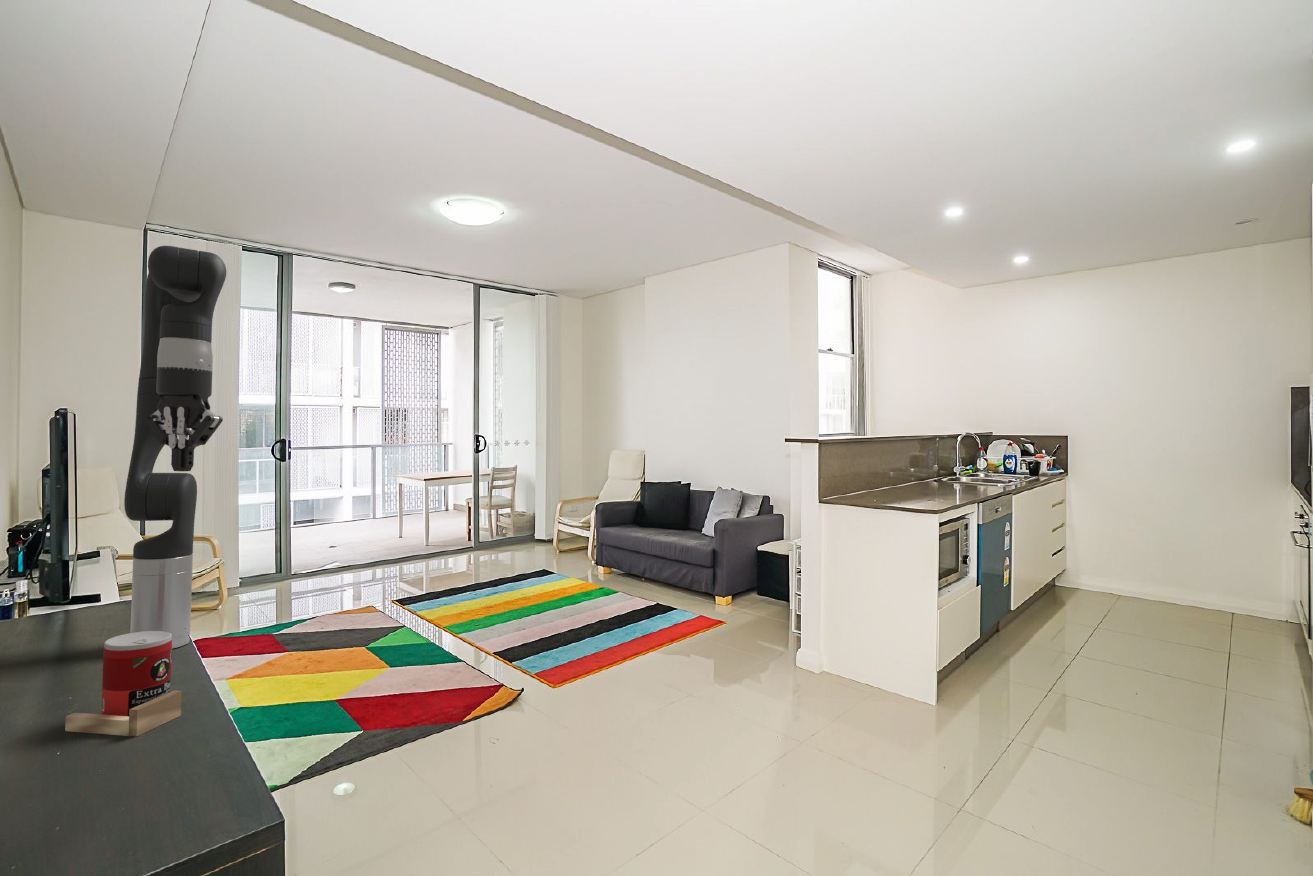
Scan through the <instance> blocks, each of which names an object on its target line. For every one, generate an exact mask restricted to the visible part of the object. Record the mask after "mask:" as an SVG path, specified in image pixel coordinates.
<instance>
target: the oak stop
mask: <svg viewBox="0 0 1313 876" xmlns="http://www.w3.org/2000/svg"><path fill="white" fill-rule="evenodd" d="M182 695H183V690H178V689H177V690H176V689H175V690H171V691H170V692H169V693H167V694H165V695H162V696H160V697H158V698H155V699H153V700H150V701H148V702H146V703H143V704H141V705H139V706H136V707H134V708H132V709H129V717H128V716H115V715H101V713H100V714H99V713H88V712H87V713H84V712H72V713H71V714H70V713H69V714H67V715H66V716H65V725H64V729H65V730H64V731H65V732H71V733H72V732H73V733H74V732H75V733H86V734H99V735H101V734H102V735H112V736H124V737H125V736H126V737H135V738H136V737H139V736H141V735H143V734H145V733H147V732H149V731H151V730H154V729H155V728H158V727H160V726H162V725H163V724H166V723H168V722H170V721H172V720H175V719H176V718H178V717H181V716H182V700H183V698H182V697H183V696H182Z"/></svg>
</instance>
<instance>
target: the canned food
mask: <svg viewBox="0 0 1313 876" xmlns="http://www.w3.org/2000/svg"><path fill="white" fill-rule="evenodd" d="M103 644H104V645H103V653H102V654H103V655H102V682H101V687H102V688H101V713H100V714H101V715H115V716H128V717H129V709H132V708H134V707H136V706H139V705H141V704H143V703H146V702H148V701H150V700H153V699H155V698H158V697H160V696H162V695H165V694H167V693H169V692H171V682H172V681H171V679H172V652H173V648H172V634H171V633H169V632H164V631H145V632H135V633H126V634H121V635H115V636H113V637H111V638H108V639H106V641H104V643H103Z"/></svg>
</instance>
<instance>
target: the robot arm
mask: <svg viewBox="0 0 1313 876" xmlns="http://www.w3.org/2000/svg"><path fill="white" fill-rule="evenodd" d="M147 268H148V269H147V270H148V274H147V277H146V282H145V294H144V295H145V297H144V327H143V328H144V331H143V333H144V335H143V348H142V353H141V354H142V355H141V361H140V368H139V375H138V376H139V377H138V383H137V395H136V409H135V410H136V412H135V426H134V437H133V443H132V444H133V445H132V450H131V455H130V456H131V457H130V462H129V467H128V474H127V479H126V483H125V491H124V498H123V499H124V501H123V502H124V505H123V506H124V512H125V516H126V518H128V519H129V520H131V521H133V522H135V521H136V522H152V521H153V522H154V521H172V523H171V527H170V528H169V529H167V530H166V531H164V532H162V533H160V534H158V535H155V536H152V537H148V538H145V539H142V540H139V541H137V542H135V544H134V545H133V549H132V571H131V572H132V574H131V575H132V582H131V605H130V606H131V607H130V608H131V611H130V630H129V631H130V633H135V632H145V631H164V632H169V633H171V634H172V649H175V648H179V647H182V646H185V645H187V644H189V643H190V642H191V640H190V639H191V620H192V619H191V618H192V592H193V591H192V588H193V587H192V586H193V564H194V563H193V561H194V560H193V558H194V557H193V556H194V554H193V553H194V537H195V536H194V534H195V532H194V531H195V520H196V519H195V518H196V516H195V515H196V509H197V498H198V485H197V484H198V483H197V480H196V477H195V476H194V475H193V474H192V473H189V472H191V471H192V468H194V465H195V463H194V457H195V449H196V448H197V447H200V446H204V445H206V444H207V442H208V441H209V440H210V438H211V437H212V436H213V435H214V433H215V432H216V431H217V429H218V428H219V427H220V425H221V424H222V422H223V417H222V416H221V415H216V414H214V413H213V412H212V410H211V405H210V402H209V398H210V397H211V396H212V395H213V394H212V393H213V363H214V355H213V350H212V349H213V347H212V342H213V341H212V337H213V336H212V332H213V319H214V312H215V309H216V305H217V301H218V298H219V296H220V293H221V292H222V289H223V287H224V285H225V281H226V278H227V267H226V264H225V262H224V260H223V259H222V258H221V257H220V256H219V255H218V254H216V253H213V252H210V251H209V252H208V251H204V250H197V249H191V248H184V247H179V246H173V245H159V246H157V247H155V248H153V250H152V251H151V252H150V253H149V256H148V260H147ZM165 445H166V446H168V447H169V448H170V449H171V455H170V456H171V457H170V459H171V463H170V464H171V468H172V470H173V472H153V471H154V467H155V463H156V462H157V459H158V457H159V454H160V453H161V451H162V450H163V448H164V447H165ZM185 628H186V629H185ZM187 632H188V633H187ZM188 634H189V636H190V638H189V636H188Z"/></svg>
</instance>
